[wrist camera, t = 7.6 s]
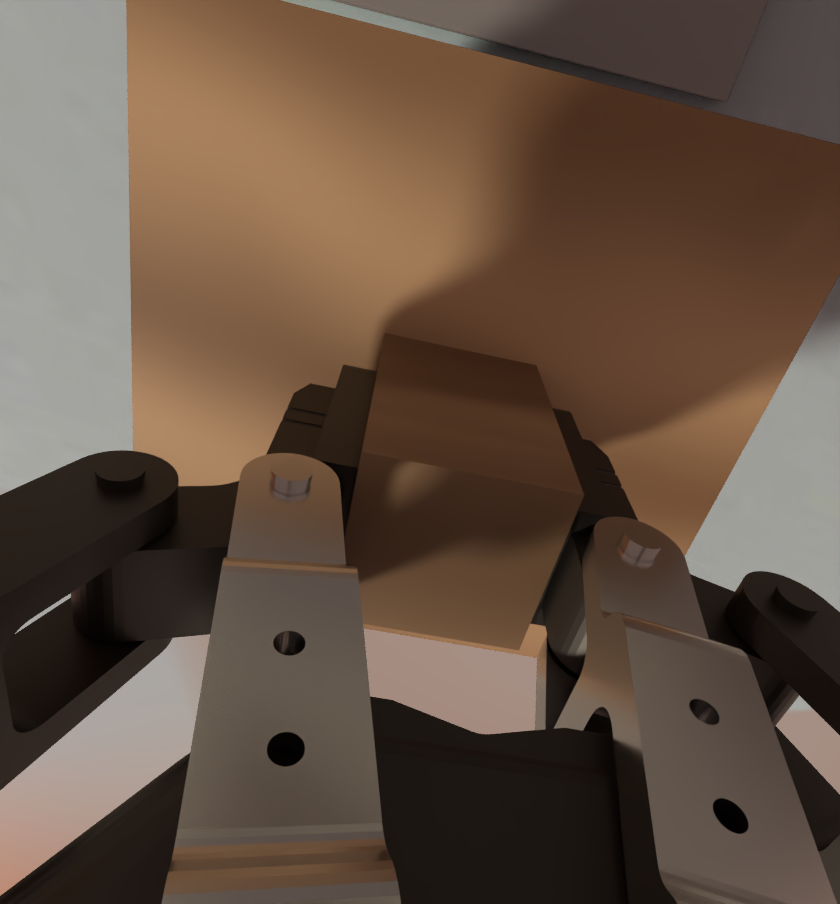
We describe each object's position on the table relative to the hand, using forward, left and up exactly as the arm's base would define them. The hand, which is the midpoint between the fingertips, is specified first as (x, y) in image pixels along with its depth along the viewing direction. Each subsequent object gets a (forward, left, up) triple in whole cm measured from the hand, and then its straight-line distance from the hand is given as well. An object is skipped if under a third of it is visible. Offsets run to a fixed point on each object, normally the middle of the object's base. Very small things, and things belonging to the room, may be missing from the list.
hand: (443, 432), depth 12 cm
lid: (0, 0, -2) cm, 2 cm away
